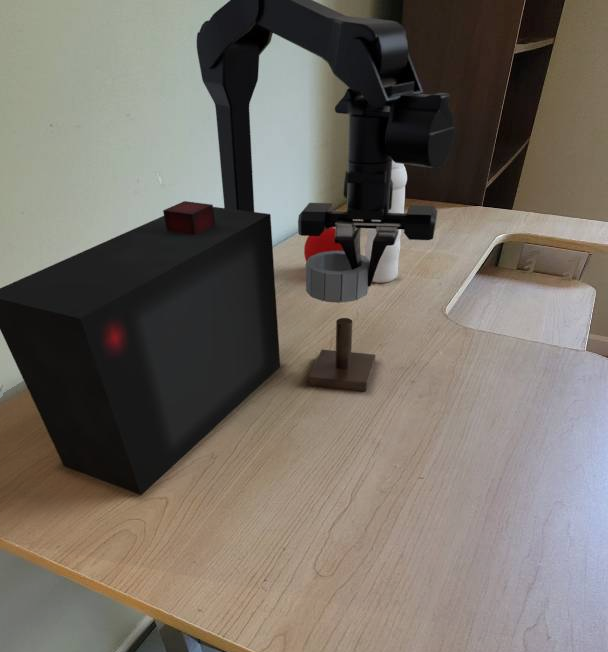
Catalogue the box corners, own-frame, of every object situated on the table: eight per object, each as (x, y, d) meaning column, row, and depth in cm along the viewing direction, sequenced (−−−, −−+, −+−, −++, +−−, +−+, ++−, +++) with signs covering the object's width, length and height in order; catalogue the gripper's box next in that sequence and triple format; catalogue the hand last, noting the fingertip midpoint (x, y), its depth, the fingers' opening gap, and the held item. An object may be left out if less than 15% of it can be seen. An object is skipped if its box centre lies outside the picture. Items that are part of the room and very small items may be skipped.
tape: (301, 300, 77) (300, 271, 74) (313, 276, 83) (313, 249, 80) (363, 304, 76) (365, 276, 73) (371, 280, 82) (373, 252, 79)
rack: (308, 385, 80) (307, 332, 74) (321, 357, 86) (321, 306, 80) (365, 391, 78) (369, 337, 72) (375, 363, 84) (379, 310, 78)
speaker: (51, 461, 69) (-42, 269, 51) (203, 348, 90) (174, 184, 72) (141, 495, 64) (72, 294, 46) (280, 366, 84) (269, 194, 67)
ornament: (322, 263, 116) (322, 212, 109) (354, 272, 112) (356, 219, 104) (296, 275, 111) (294, 222, 104) (328, 285, 107) (328, 231, 100)
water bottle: (359, 281, 108) (366, 131, 90) (369, 269, 112) (378, 124, 94) (392, 285, 106) (406, 132, 88) (401, 273, 110) (416, 125, 92)
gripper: (447, 146, 70) (430, 269, 82) (313, 146, 74) (316, 263, 85) (442, 165, 63) (425, 297, 74) (294, 164, 66) (299, 289, 78)
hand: (364, 285), depth 78 cm, fingers closed on tape
